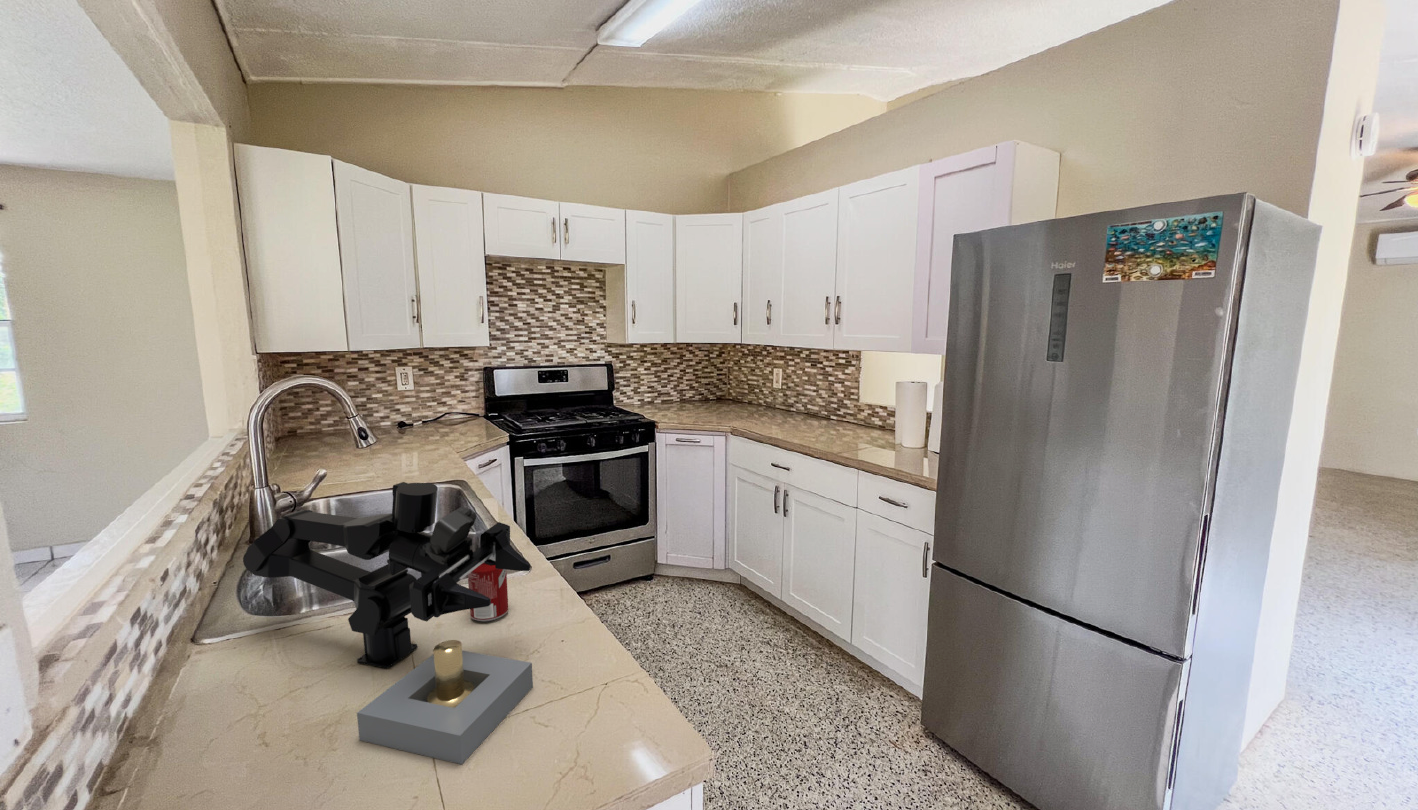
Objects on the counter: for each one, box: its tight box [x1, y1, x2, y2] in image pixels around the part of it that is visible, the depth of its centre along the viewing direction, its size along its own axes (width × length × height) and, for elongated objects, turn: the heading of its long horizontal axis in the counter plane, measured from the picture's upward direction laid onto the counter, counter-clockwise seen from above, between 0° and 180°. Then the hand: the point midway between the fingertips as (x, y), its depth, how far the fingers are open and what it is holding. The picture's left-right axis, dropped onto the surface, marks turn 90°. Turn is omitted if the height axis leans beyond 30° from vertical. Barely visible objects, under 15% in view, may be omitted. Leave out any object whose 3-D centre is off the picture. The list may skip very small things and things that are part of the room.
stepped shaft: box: [427, 639, 474, 708], centre depth 81 cm, size 6×6×10 cm
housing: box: [356, 650, 534, 765], centre depth 81 cm, size 16×16×4 cm
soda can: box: [467, 562, 509, 623], centre depth 108 cm, size 7×7×12 cm
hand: (510, 584), depth 85 cm, fingers open, 9 cm apart
